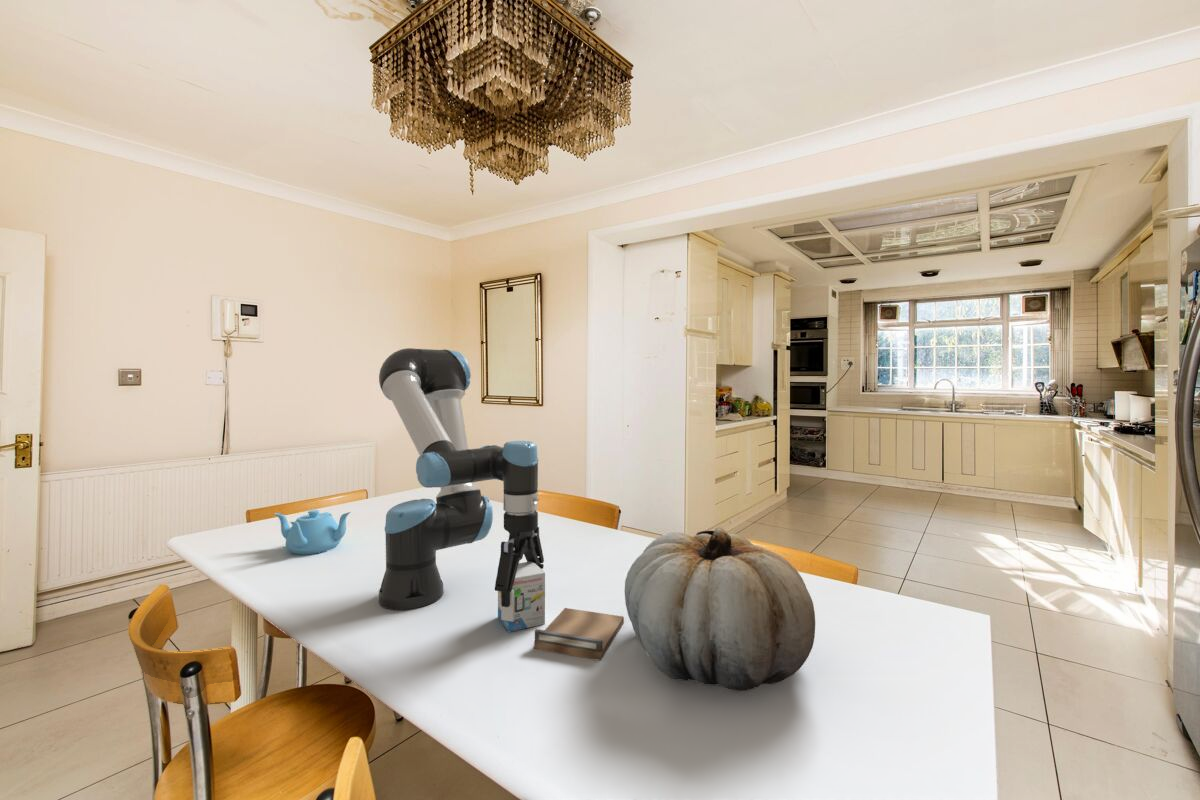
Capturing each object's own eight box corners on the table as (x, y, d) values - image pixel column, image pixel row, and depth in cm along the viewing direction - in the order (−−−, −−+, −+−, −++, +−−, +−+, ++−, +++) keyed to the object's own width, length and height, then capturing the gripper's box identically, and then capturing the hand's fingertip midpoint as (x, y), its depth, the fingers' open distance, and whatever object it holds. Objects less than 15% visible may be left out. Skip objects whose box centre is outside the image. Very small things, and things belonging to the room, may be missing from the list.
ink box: (508, 632, 107) (508, 578, 107) (497, 616, 115) (496, 565, 114) (546, 624, 111) (545, 571, 111) (532, 608, 119) (532, 559, 118)
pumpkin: (586, 636, 106) (586, 517, 105) (716, 600, 124) (716, 498, 123) (704, 744, 74) (705, 575, 73) (857, 675, 91) (859, 538, 91)
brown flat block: (534, 648, 101) (534, 631, 101) (565, 614, 116) (565, 599, 116) (600, 660, 96) (600, 642, 96) (623, 623, 112) (623, 607, 111)
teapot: (292, 561, 152) (291, 521, 151) (274, 548, 164) (273, 510, 164) (351, 548, 164) (351, 510, 164) (331, 536, 177) (330, 501, 177)
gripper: (509, 527, 100) (510, 635, 100) (557, 500, 122) (557, 589, 123) (476, 523, 102) (477, 629, 103) (529, 498, 125) (530, 585, 125)
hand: (521, 607), depth 113 cm, fingers closed on ink box, 11 cm apart
